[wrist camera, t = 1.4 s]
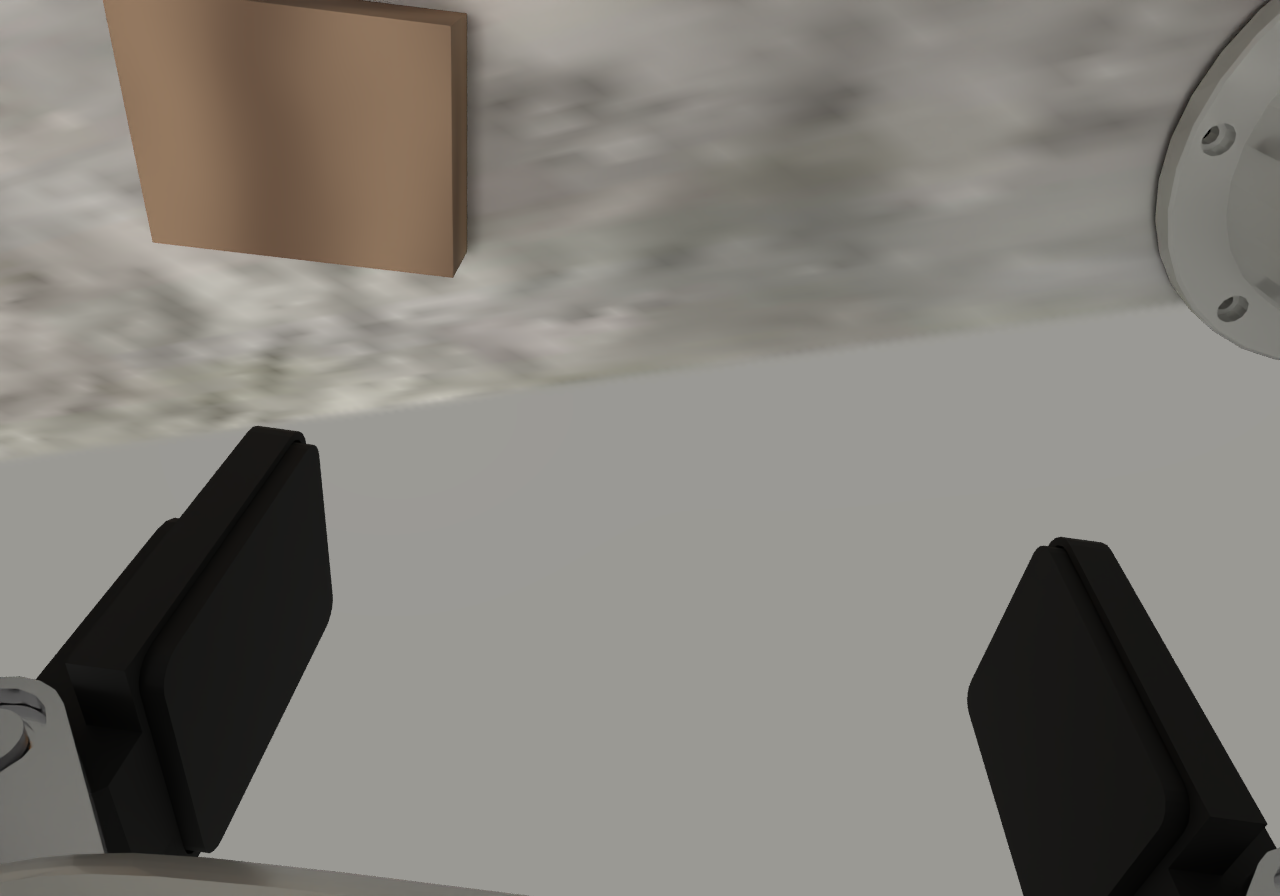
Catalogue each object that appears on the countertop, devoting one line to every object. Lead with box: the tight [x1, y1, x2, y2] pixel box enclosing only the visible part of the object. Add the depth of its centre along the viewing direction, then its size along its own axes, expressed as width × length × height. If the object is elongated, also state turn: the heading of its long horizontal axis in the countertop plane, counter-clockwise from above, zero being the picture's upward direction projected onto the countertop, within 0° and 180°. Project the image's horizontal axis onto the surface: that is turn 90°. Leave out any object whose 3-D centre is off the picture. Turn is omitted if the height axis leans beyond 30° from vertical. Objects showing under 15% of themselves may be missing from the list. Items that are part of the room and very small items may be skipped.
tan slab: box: [103, 0, 467, 278], centre depth 26 cm, size 9×7×2 cm
